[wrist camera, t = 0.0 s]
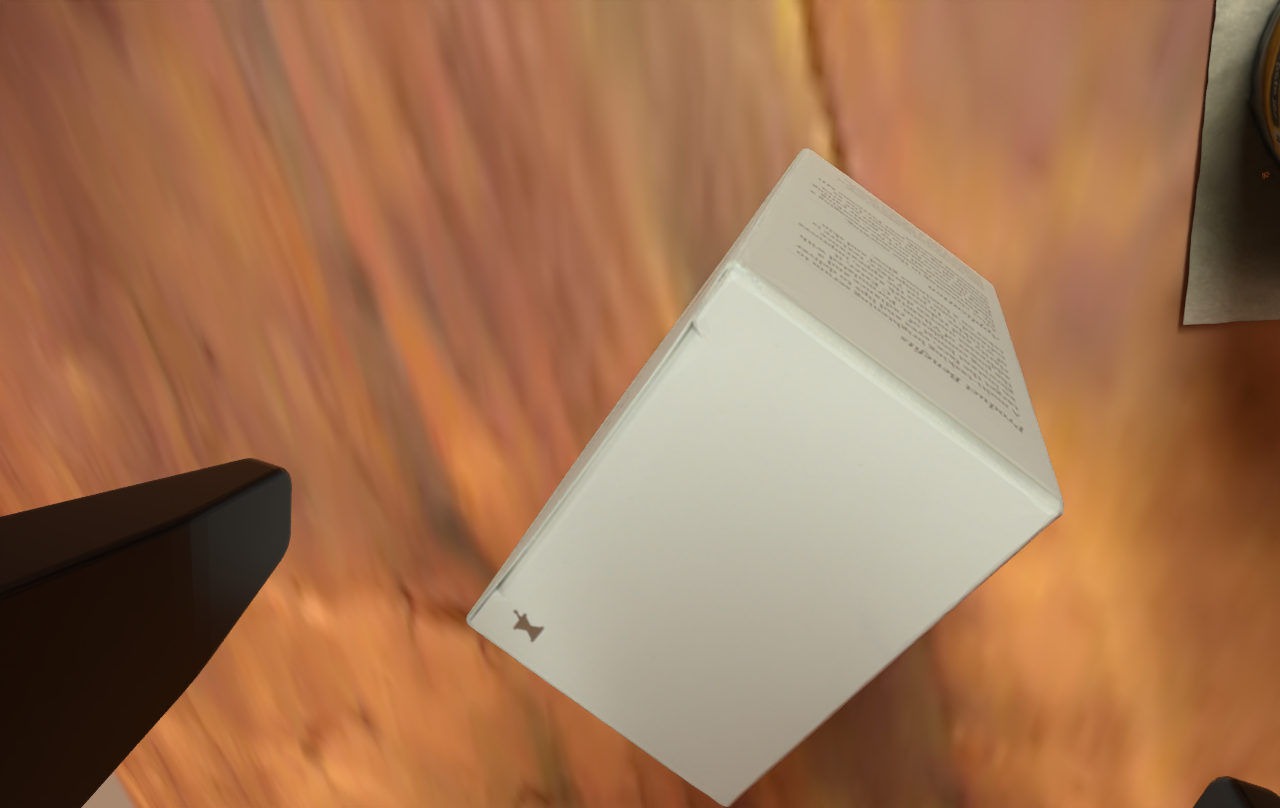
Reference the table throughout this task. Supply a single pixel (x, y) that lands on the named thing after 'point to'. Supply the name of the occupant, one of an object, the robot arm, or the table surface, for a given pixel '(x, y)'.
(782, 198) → the small box
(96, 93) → the table surface
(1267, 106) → the condiment
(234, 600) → the robot arm
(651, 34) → the table surface
